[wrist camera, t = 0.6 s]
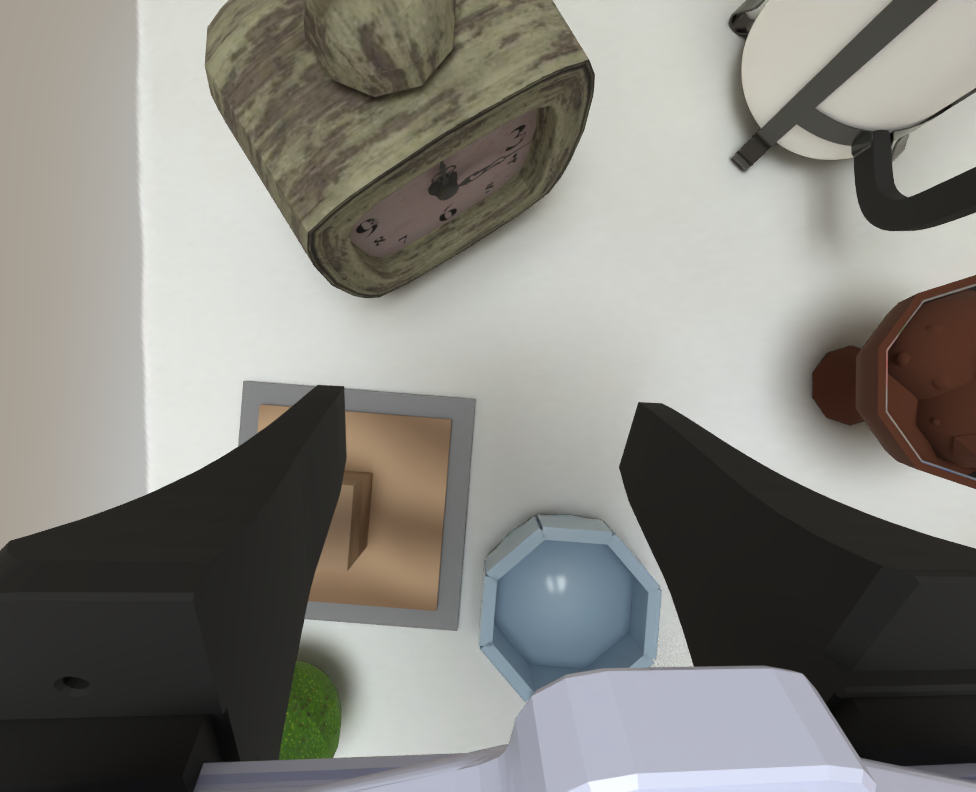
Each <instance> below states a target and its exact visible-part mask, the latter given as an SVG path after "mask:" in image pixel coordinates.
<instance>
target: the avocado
mask: <svg viewBox="0 0 976 792" xmlns="http://www.w3.org/2000/svg"><path fill="white" fill-rule="evenodd" d="M340 726H341V706H340V702H339V697H338V692H337V689H336V688H335V686H334V684H333V683H332V681H331V680H330V678H329V677H328V676H327V675H326V674H325V673H324V672H323V671H321V670H320V669H318V668H317V667H315V666H313V665H312V664H310V663H306V662H302V661H297V660H296V664H295V669H294V674H293V680H292V685H291V691H290V697H289V702H288V708H287V713H286V719H285V725H284V730H283V736H282V742H281V748H280V754H279V760H298V759H325V758H333V757H334V754H335V752H336V749H337V747H338V742H339V734H340Z"/></svg>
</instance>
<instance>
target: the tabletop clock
mask: <svg viewBox="0 0 976 792" xmlns="http://www.w3.org/2000/svg"><path fill="white" fill-rule="evenodd" d="M205 69H206V73H207V78H208V83H209V87H210V92H211V96H212V98H213V100H214V102H215V104H216V106H217V108H218V110H219V111H220V113H221V115H222V117H223V118H224V120H225V122H226V124H227V125H228V127H229V129H230V130H231V132H232V133H233V135H234V137H235V138H236V140H237V142H238V143H239V145H240V146H241V148H242V150H243V151H244V153H245V155H246V156H247V158H248V159H249V161H250V163H251V164H252V166H253V167H254V169H255V171H256V172H257V174H258V176H259V177H260V179H261V180H262V182H263V184H264V185H265V187H266V189H267V190H268V192H269V193H270V195H271V197H272V198H273V200H274V202H275V203H276V205H277V206H278V208H279V210H280V211H281V213H282V215H283V216H284V218H285V219H286V221H287V223H288V224H289V226H290V228H291V229H292V231H293V232H294V234H295V236H296V237H297V239H298V241H299V242H300V244H301V245H302V247H303V249H304V250H305V252H306V254H307V255H308V257H309V258H310V260H311V262H312V263H313V265H314V267H315V268H316V269H317V270H318V271H319V272H320V273H321V274H322V275H323V276H324V277H325V278H326V279H327V280H328V282H329V283H330V284H331V285H332V286H334V287H336V288H339V289H341V290H343V291H345V292H347V293H349V294H351V295H353V296H357V297H362V298H376V297H381V296H383V295H385V294H387V293H389V292H391V291H394V290H396V289H398V288H400V287H402V286H403V285H405V284H407V283H409V282H411V281H413V280H414V279H416V278H418V277H420V276H421V275H423V274H425V273H426V272H428V271H430V270H431V269H433V268H435V267H437V266H438V265H440V264H442V263H443V262H445V261H447V260H448V259H450V258H452V257H454V256H455V255H457V254H459V253H460V252H462V251H464V250H465V249H467V248H468V247H470V246H472V245H473V244H475V243H476V242H478V241H479V240H481V239H483V238H484V237H486V236H487V235H489V234H490V233H492V232H493V231H495V230H497V229H498V228H500V227H501V226H503V225H504V224H506V223H507V222H509V221H510V220H512V219H514V218H515V217H517V216H518V215H520V214H521V213H522V212H524V211H525V210H527V209H528V208H530V207H531V206H532V205H534V204H535V203H536V202H537V201H539V200H540V199H541V198H543V197H544V196H545V195H547V194H548V193H549V192H550V191H551V189H552V188H553V187H554V186H555V184H556V183H557V182H558V180H559V179H560V178H561V176H562V174H563V173H564V171H565V170H566V168H567V166H568V164H569V162H570V160H571V158H572V156H573V154H574V152H575V149H576V147H577V145H578V143H579V141H580V138H581V136H582V134H583V132H584V129H585V125H586V121H587V117H588V113H589V110H590V106H591V102H592V98H593V93H594V79H595V74H594V71H593V69H592V66H591V63H590V61H589V59H588V57H587V56H586V54H585V52H584V51H583V49H582V47H581V46H580V44H579V43H578V41H577V39H576V38H575V36H574V34H573V33H572V31H571V30H570V28H569V26H568V25H567V23H566V22H565V20H564V18H563V17H562V15H561V13H560V12H559V10H558V9H557V7H556V5H555V4H554V2H553V0H229V1H228V2H227V3H226V4H225V5H224V6H223V7H222V8H221V9H220V10H219V12H218V13H217V15H216V16H215V17H214V19H213V20H212V22H211V23H210V25H209V26H208V28H207V42H206V56H205Z"/></svg>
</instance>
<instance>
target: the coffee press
mask: <svg viewBox="0 0 976 792" xmlns="http://www.w3.org/2000/svg"><path fill="white" fill-rule="evenodd" d="M764 1H765V0H746V1H745V2H744V3H743V4H742V5H741V6H740V7H739V8H738V9H737V10H736V11H735V12H734V13H733V14H732V15H731V17H730V26H731V28H732V30H733V31H734V32H735V33H736V34H739V35H748V37H747V40H746V43H745V47H744V51H743V57H742V67H741V75H742V85H743V91H744V95H745V98H746V102H747V104H748V107H749V109H750V111H751V113H752V115H753V117H754V118H755V120H756V122H757V123H758V124H759V126H760V127H761V128H760V129H759V130H758V131H757V132H756V133H755V135H754V136H753V137H752V138H751V139H750V140H749V141H748V142H747V143H746V144H745V145H744V146H743V147H742V148H741V149H740V150H739V151H738V152H737V153H736V154H735V155H734V156H733V157H732V158H733V159H734V160H735V161H736V162H737V163H738V164H739V165H740V166H741V167H742V168H743V169H744V170H745V171H746V170H747V169H748V168H749V167H751V166H752V165H753V164H754V163H755V162H756V161H757V160H758V159H759V158H760V157H761V156H762V155H763V154H764V153H765V152H766V151H767V150H768V149H769V148H771V147H772V146H773V145H774V144H775V143H778V144H779V145H781V146H782V147H784V148H786V149H787V150H789V151H791V152H794V153H796V154H799V155H801V156H805V157H809V158H814V159H823V160H838V159H847V158H853V157H854V173H855V186H856V193H857V198H858V203H859V206H860V208H861V211H862V213H863V215H864V217H865V218H866V219H867V220H868V221H869V222H870V223H871V224H872V225H874V226H875V227H877V228H880V229H882V230H888V231H915V230H922V229H927V228H931V227H935V226H938V225H941V224H944V223H947V222H950V221H953V220H956V219H959V218H962V217H965V216H967V215H970V214H973V213H975V212H976V167H975V168H973V169H970V170H968V171H966V172H964V173H962V174H960V175H958V176H955V177H953V178H951V179H949V180H947V181H945V182H943V183H940V184H938V185H936V186H934V187H932V188H930V189H928V190H925V191H923V192H921V193H919V194H916V195H914V196H911V197H906V196H904V195H902V194H901V193H900V192H899V191H898V190H897V188H896V186H895V184H894V179H893V171H892V162H893V161H894V160H895V159H896V158H897V157H898V156H899V155H900V154H901V153H902V152H903V151H904V149H905V146H906V143H907V139H908V136H909V134H910V133H911V132H913V131H914V130H916V129H917V128H919V127H921V126H922V125H924V124H926V123H927V122H929V121H930V120H932V119H934V118H935V117H937V116H938V115H940V114H942V113H943V112H945V111H946V110H948V109H949V108H951V107H952V106H954V105H956V104H957V103H959V102H960V101H962V100H964V99H965V98H967V97H968V96H970V95H972V94H973V93H975V92H976V0H768V2H767V3H766V5H765V6H764V8H763V9H762V11H761V12H760V14H759V15H758V17H757V19H756V20H755V19H750V18H749V17H748V16H747V15H746V13H745V12H749V11H752V10H754V9H756V8H758V7H759V6H760V5H761V4H762V3H763V2H764ZM896 139H898V140H897V142H896V143H895V145H894V148H893V151H892V153H891V146H892V144H893V141H894V140H896Z"/></svg>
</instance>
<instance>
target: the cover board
mask: <svg viewBox="0 0 976 792" xmlns="http://www.w3.org/2000/svg"><path fill="white" fill-rule="evenodd" d="M289 408H290V406H277V405H265V404H261V405H260V406H259V419H258V432H260V431H261V430H263V429H264V428H265V427H267V426H268V425H269V424H271V423H272V422H273V421H274V420H276V419H277V418H278V417H279V416H281V415H282V414H283V413H284V412H286V411H287V410H288V409H289ZM345 422H346V452H347V458H346V464H345V470H344V476H343V482H342V487H341V492H340V496H339V499H338V502H337V506H336V509H335V512H334V515H333V518H332V521H331V525H330V528H329V531H328V534H327V537H326V540H325V543H324V546H323V549H322V553H321V556H320V559H319V562H318V565H317V568H316V571H315V575H314V578H313V582H312V586H311V590H310V594H309V599H308V601H313V602H326V603H339V604H352V605H364V606H377V607H390V608H403V609H416V610H429V611H436V610H437V603H438V590H439V577H440V564H441V552H442V539H443V526H444V514H445V501H446V488H447V475H448V463H449V450H450V437H451V425H452V419H443V418H430V417H418V416H405V415H392V414H379V413H367V412H354V411H345ZM258 432H257V433H258Z"/></svg>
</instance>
